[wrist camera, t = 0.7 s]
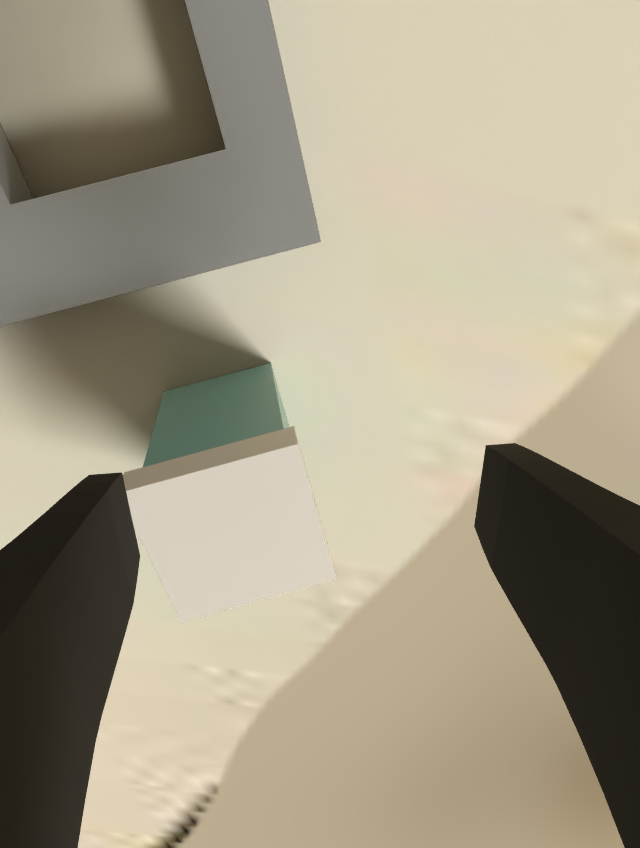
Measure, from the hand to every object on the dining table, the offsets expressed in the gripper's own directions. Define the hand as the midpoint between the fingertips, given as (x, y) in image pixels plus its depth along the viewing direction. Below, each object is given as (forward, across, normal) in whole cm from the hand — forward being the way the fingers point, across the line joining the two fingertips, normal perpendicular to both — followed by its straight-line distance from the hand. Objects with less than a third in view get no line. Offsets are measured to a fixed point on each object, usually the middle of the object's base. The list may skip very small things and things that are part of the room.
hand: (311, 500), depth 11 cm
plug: (+10, +2, +3) cm, 10 cm away
